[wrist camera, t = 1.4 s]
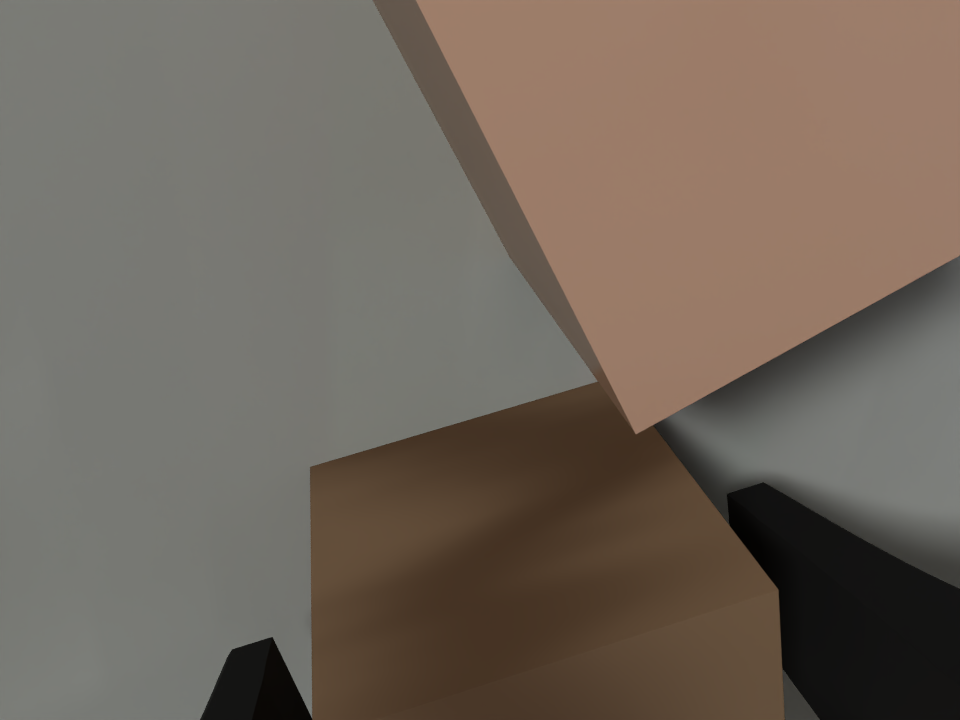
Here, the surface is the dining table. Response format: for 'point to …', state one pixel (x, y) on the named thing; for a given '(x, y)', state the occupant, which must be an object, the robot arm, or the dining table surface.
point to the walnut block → (534, 578)
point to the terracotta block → (699, 167)
